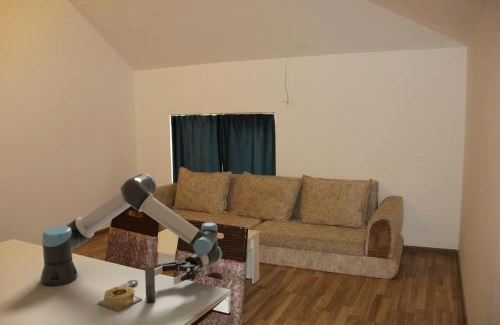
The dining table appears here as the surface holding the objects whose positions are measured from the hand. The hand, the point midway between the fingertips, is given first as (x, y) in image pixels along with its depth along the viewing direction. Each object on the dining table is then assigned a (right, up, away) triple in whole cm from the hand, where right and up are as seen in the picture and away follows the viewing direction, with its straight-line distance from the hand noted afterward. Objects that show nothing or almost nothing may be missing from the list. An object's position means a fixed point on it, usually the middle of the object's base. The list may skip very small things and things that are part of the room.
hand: (162, 277), depth 164 cm
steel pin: (-4, -8, -4) cm, 10 cm away
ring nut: (-16, -8, -4) cm, 18 cm away
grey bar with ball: (-18, -7, +8) cm, 21 cm away
